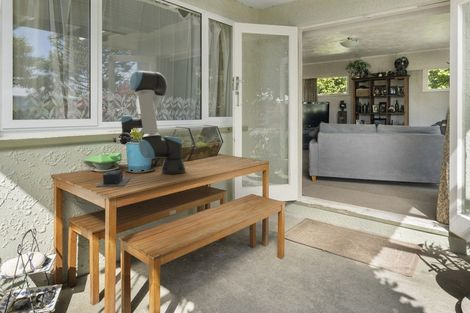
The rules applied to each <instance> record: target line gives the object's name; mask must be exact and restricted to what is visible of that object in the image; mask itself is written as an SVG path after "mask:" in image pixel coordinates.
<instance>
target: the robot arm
mask: <svg viewBox="0 0 470 313" xmlns="http://www.w3.org/2000/svg"><path fill="white" fill-rule="evenodd" d="M129 87H130V89H131V90H132V91H134V95H136V96H137V97H138V98H137V99H138V104H139V106H138V107H139V113H140V117H133V115H132V114H131V115H129V114H128V115H127V114H123V115H121V119H120V120H121V133H120V134H119V135H118V137H112V142H114V143H116V144H117V145H118V144H121V145H124V146H127V145H126V143H127V142H131V141H133V137H132V136H131V134H130V132H131V129H133V128H136V129H142V131H143V135H142V136H141V140H139V143H138V149H139V153H140V155H141V156H142V157H143V158H144V159H146V160H147V159H149V160H152V159H153V160H154V159H158V158H163V162H162V166H161V174H164V175H179V174H180V175H181V174H184V173H186V167H185V164H184V162H183V141H182V138H181V137H179V136H170V135H169V136H167V135H163V137H162V134H160V133H159V131H158V125H157V124H158V123H157V118H156V117H157V116H156V111H157V109H158V107H159V105H160V102H161V100H162V98H163V97H164V96H165V95H166V93H167V91H168V82H167V79H166V77H165V76H164V75H163V74H162V73H160V72H158V71H148V70H147V71H146V70H134V71H133V72H132V73H131V75H130V77H129ZM133 130H134V129H133ZM133 142H134V141H133ZM131 143H132V142H131Z"/></svg>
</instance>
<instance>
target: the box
mask: <svg viewBox="0 0 470 313" xmlns="http://www.w3.org/2000/svg"><path fill="white" fill-rule="evenodd" d="M122 180H123V170H107V171H106V172H104V173H103V174H102V181H103V184H119V183H120V182H121V181H122Z"/></svg>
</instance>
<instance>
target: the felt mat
mask: <svg viewBox="0 0 470 313" xmlns="http://www.w3.org/2000/svg"><path fill="white" fill-rule="evenodd" d="M131 178H132V177H131V176H126V177H125V176H124V177H123V180H122V181H121V182H120V183H119V184H103V180H101V182H99V183H98V184H97V185H96V186H95V187H96V188H110V187H111V188H115V187H117V188H118V187H125V186H126V185H127V183H129V182H130V180H131Z"/></svg>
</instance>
